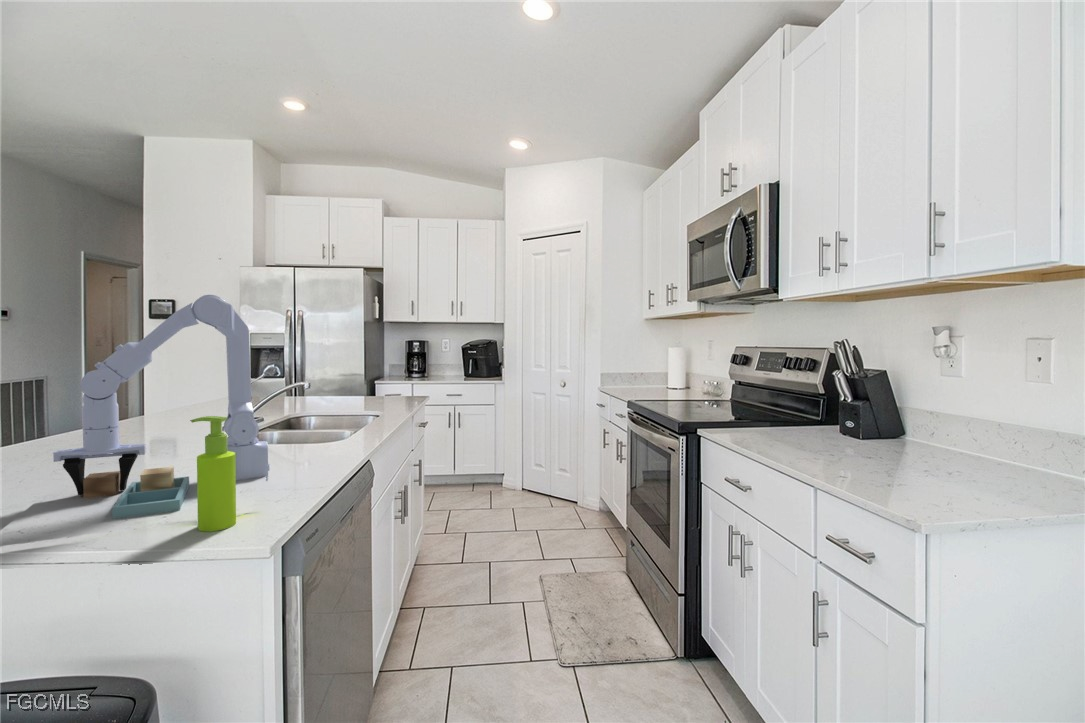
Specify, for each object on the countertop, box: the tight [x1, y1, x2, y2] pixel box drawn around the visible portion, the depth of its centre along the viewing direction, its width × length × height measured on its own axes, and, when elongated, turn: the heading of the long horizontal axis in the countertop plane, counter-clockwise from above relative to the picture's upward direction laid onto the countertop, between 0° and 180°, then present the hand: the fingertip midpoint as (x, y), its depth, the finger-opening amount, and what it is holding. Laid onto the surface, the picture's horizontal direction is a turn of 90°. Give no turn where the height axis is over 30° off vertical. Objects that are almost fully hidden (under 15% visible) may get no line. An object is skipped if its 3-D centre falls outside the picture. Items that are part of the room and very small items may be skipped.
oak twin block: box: [139, 466, 175, 491], centre depth 106 cm, size 5×5×5 cm
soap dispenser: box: [189, 415, 237, 532], centre depth 92 cm, size 6×7×20 cm
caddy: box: [111, 476, 190, 520], centre depth 102 cm, size 10×18×3 cm, turn 30°
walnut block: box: [83, 470, 120, 500], centre depth 106 cm, size 5×5×5 cm
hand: (102, 491), depth 106 cm, fingers open, 6 cm apart
